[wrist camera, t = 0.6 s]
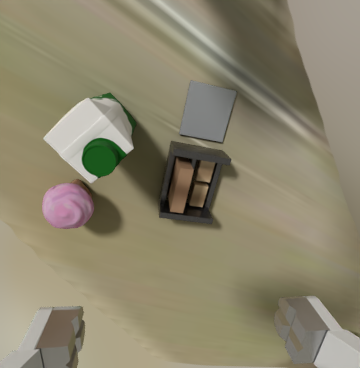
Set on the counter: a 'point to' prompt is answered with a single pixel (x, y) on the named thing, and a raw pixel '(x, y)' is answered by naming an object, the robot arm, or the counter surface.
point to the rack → (194, 153)
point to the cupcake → (68, 205)
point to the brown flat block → (179, 184)
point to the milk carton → (94, 136)
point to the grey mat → (207, 111)
